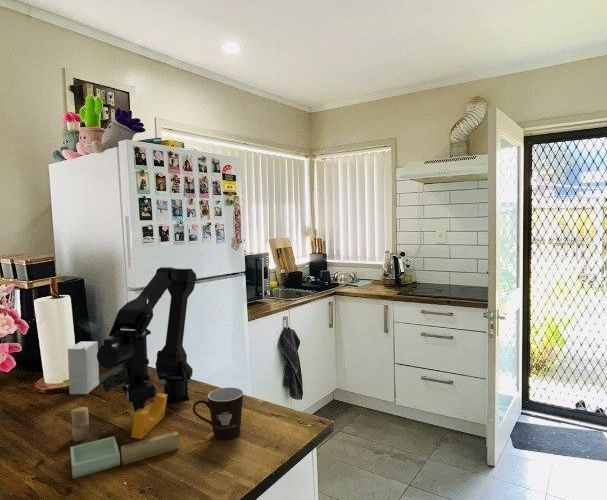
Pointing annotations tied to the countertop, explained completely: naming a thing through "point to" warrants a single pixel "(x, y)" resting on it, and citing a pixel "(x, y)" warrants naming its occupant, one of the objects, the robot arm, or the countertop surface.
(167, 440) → the bar
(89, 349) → the skincare box
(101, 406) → the countertop surface
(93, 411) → the countertop surface
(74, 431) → the oak dowel
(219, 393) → the coffee mug
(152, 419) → the pipe clamp
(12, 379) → the countertop surface
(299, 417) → the countertop surface
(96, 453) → the tray
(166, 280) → the robot arm
